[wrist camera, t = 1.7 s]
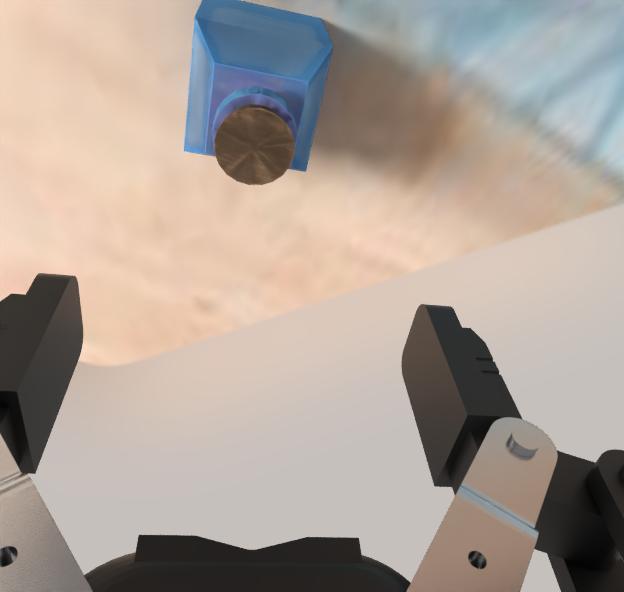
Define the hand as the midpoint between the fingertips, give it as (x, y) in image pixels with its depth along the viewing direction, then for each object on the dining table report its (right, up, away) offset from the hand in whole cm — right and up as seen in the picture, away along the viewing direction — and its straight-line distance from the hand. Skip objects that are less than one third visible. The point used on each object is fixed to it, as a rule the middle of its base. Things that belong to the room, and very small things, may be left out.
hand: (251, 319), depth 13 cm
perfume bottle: (-2, +14, +18) cm, 23 cm away
